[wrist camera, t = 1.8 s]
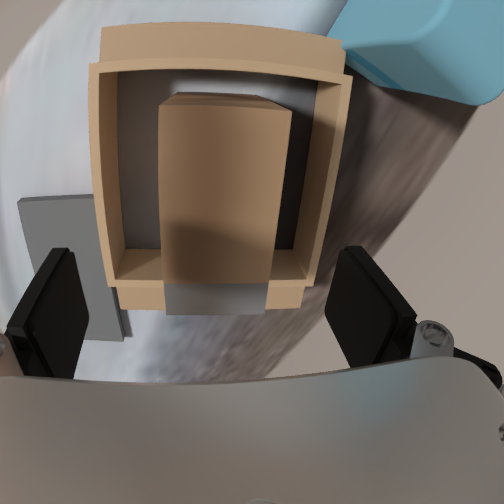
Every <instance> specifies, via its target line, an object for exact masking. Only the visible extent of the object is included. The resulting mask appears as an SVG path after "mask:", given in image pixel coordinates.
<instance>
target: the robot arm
mask: <svg viewBox="0 0 504 504" xmlns="http://www.w3.org/2000/svg"><path fill="white" fill-rule="evenodd" d="M325 316H326V318H327V321H328V323H329V325H330V326H331V329H332V331H333V333H334V335H335V337H336V339H337V341H338V343H339V345H340V347H341V349H342V351H343V353H344V355H345V357H346V359H347V361H348V364H349V366H350V368H348V369H342V370H336V371H328V372H320V373H313V374H304V375H296V376H287V377H276V378H264V379H252V380H237V381H219V382H189V383H137V382H110V381H91V380H76V379H73V378H74V374H75V370H76V366H77V362H78V358H79V354H80V351H81V347H82V344H83V340H84V337H85V333H86V330H87V327H88V323H89V311H88V308H87V304H86V300H85V296H84V292H83V288H82V284H81V280H80V276H79V271H78V267H77V262H76V258H75V254H74V252H70V250H69V248H68V247H66V248H52V249H51V251H50V252H49V254H48V256H47V257H46V259H45V260H44V262H43V263H42V265H41V266H40V268H39V270H38V271H37V273H36V275H35V276H34V278H33V280H32V281H31V283H30V285H29V286H28V288H27V290H26V291H25V293H24V295H23V297H22V298H21V300H20V302H19V304H18V306H17V307H16V309H15V311H14V313H13V315H12V317H11V319H10V320H9V322H8V324H7V329H6V331H5V333H4V334H2V333H0V504H504V385H503V384H502V376H501V374H500V372H499V371H498V369H497V368H496V366H495V365H493V364H491V363H489V362H487V361H485V360H483V359H480V358H478V357H476V356H473V355H471V354H469V353H466V352H464V351H462V350H459V349H457V348H455V347H454V339H453V336H452V334H451V332H450V331H449V330H448V329H447V328H446V327H445V326H443V325H442V324H440V323H438V322H435V321H429V320H425V321H421V322H420V323H419V324H417V322H416V321H415V319H416V317H417V314H416V313H415V311H414V310H413V309H412V307H411V306H410V305H409V304H408V302H407V301H406V300H405V299H404V297H403V296H402V295H401V294H400V292H399V291H398V290H397V288H396V287H395V286H394V285H393V283H392V282H391V281H390V280H389V278H388V277H387V276H386V275H385V274H384V272H383V271H382V270H381V269H380V267H379V266H378V265H377V264H376V263H375V261H374V260H373V259H372V258H371V257H370V255H369V254H368V253H367V252H366V251H365V250H364V248H363V247H362V246H346V247H345V248H344V250H341V251H340V253H339V256H338V260H337V264H336V268H335V272H334V276H333V280H332V283H331V287H330V291H329V294H328V298H327V302H326V305H325Z"/></svg>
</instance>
